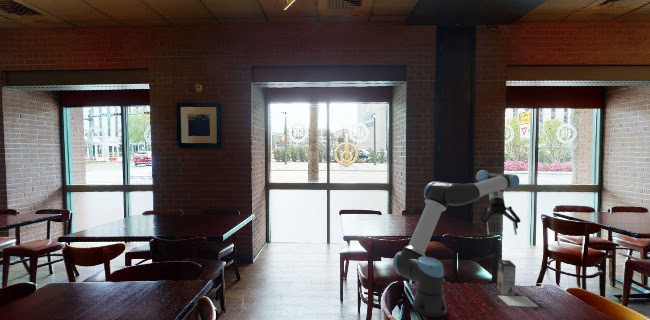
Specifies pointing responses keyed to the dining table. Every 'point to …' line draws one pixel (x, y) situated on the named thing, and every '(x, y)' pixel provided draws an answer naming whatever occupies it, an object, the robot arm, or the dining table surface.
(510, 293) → the coffee box
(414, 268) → the robot arm
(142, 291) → the dining table surface
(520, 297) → the mat
